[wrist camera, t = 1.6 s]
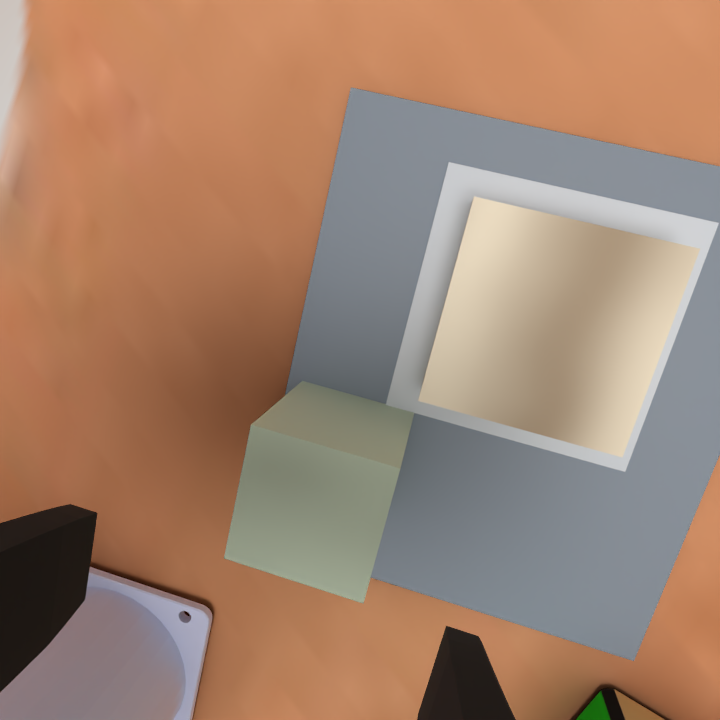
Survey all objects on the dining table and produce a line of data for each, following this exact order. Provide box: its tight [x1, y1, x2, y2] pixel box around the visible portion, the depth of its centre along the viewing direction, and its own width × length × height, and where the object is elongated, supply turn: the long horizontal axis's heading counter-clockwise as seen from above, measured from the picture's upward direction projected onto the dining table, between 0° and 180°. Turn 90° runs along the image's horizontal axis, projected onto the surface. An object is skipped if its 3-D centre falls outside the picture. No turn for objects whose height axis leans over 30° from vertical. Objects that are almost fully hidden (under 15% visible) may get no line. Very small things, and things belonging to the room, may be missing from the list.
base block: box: [418, 196, 700, 457], centre depth 16 cm, size 6×6×2 cm
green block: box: [224, 381, 414, 603], centre depth 17 cm, size 4×4×5 cm
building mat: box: [285, 88, 720, 661], centre depth 18 cm, size 14×16×1 cm
